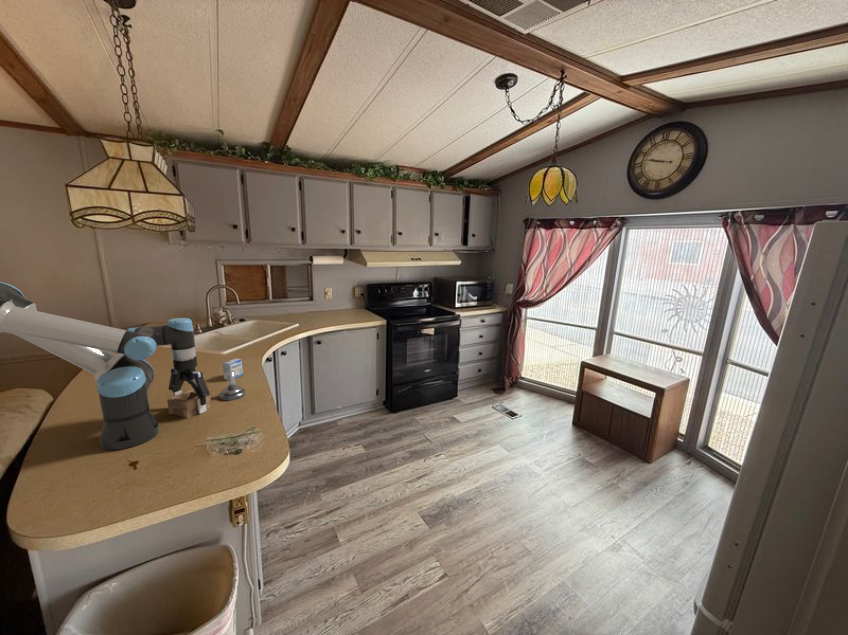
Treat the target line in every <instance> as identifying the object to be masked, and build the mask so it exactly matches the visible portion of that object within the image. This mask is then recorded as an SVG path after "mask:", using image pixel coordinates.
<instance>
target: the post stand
mask: <svg viewBox="0 0 848 635" xmlns="http://www.w3.org/2000/svg"><path fill="white" fill-rule="evenodd" d="M226 373H227V380H226V382H227V387H224V388H223V389H222V390H221V391H220V392H219V394H218V397H219V398H218V399H220V400H221V401H227V402H229V401H235V400H240V399H241V398H243V397H245V395H246V389H245V388H243V387H241V386H240V385H236V379H235V373H234V371H228V372H226Z"/></svg>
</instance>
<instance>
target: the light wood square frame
mask: <svg viewBox="0 0 848 635" xmlns="http://www.w3.org/2000/svg"><path fill="white" fill-rule="evenodd" d="M197 398H198V395H197V394H196V392H195V391H194V389H193V388H192V389H189V390H187V391H184V392H182V394H179V395H177V396H174V395H173V396H172V397H169V398H167V399H166V401H167V407H168V409H167V410H168V414H170V415H174V416H179V417H182V418H185V419H189V418H191V417H193V416H196V415H198V414H199V411H198V403H197ZM212 407H213V406H212V398H211V394H210V395H208V396H206V410H208V409H210V408H212Z"/></svg>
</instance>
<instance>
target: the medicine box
mask: <svg viewBox="0 0 848 635" xmlns="http://www.w3.org/2000/svg"><path fill="white" fill-rule="evenodd" d="M242 362H243V361H242V358H232V359H230V360H227V361H225V362H223V363H222V371H223V372H222V374H223V380H225V381H227V373H226V372H228V371H234V373H235V380H236V379H237V378H240V377H241V376H243V375H244V371H243V363H242Z"/></svg>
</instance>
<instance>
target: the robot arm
mask: <svg viewBox="0 0 848 635" xmlns="http://www.w3.org/2000/svg"><path fill="white" fill-rule="evenodd" d="M36 304H37V303H34V302H33V301H30V300H29V299H28V298H26V297H25V295H24V294H23V292H22V290H20V289H19V288H17V287H16V286H14V285H11V284H9V283H6V282H3V281H0V333H8V334H12V335H15V336H17V337H18V338H20V339H23V340H24V341H26V342H29V343H31V344H33V345H35V346H36V347H39V348H41V349H42V350H44V351H46V352H49V353H50V354H52V355H54V356H57V357H58V358H61V359H62V360H65V361H66V362H69V363H70V364H72V365H74V366H76V367H78V368H80V369H83V370H84V371H87V373H90V374H92V375H93V376H94V381H95V382H97V385H96V389H97V393H98V397H99V403H100V407H101V412H102V417H103V418H102V420H103V426H102V429H101V432H100V436H99V443H100V447H101V449H103V450H106V451H107V450H109V451H119V450H124V449H130V448H132V447H136V446H138V445H141V444H144V443H146V442H149V441H150V440H152V439H153V438H154V437H156V436H157V435H158V434H159V433H160V426H159V422H158V421H157V419H156V418H155V416H154V414H152V412H151V409H150V402H149V394H148V391H149V389H150V386H151V385H152V383H153V381H154V377H155V375H154V374H155V373H154V368H153V366H152V364H151V363H149V362H148V361H146V359H149V358H150V357H152V355H154V353H155V352H156V350H157V347H160V346H168V345H170V349H171V357H172V358H171V359H173V360H172V364H173V368H171V369H170V377H169V378H170V379H169V383H168V384H169V385H168V390H169V391H171V392H172V393H173V397H174V396H177V395H179V394H182V393H183V391H182V387H183V384H184V382H187V383H188V385H190V386H191V387H192V389H193V390H194V391H195V392H196V394H197V395H198V398H197V403H198V411H199V413H198V414H203V413H205V412H207V411H208V409H206V396H208V395H210V396H211V392H210V390H209V388H208V386H207V384H206V382H205V378H204V375H203V371H196V368H197V366H198V358H197V357H196V356H197V351H196V343H195V332H194V330H195V329H194V327H193V326H194V325H193V321H192V319H191V318H188V317H177V318H171V319H169V320H168V321H167V324H164V325H150V326H137V327H131V328H127V330H126V329H122V328H117V327H112V326H107V325H103V324H98V323H94V322H89V321H85V320H80V319H76V318H71V317H67V316H63V315H62V316H61V315H56V314H54V313H53V314H52V313H47V312H43V311H38V309H37V305H36Z"/></svg>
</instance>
